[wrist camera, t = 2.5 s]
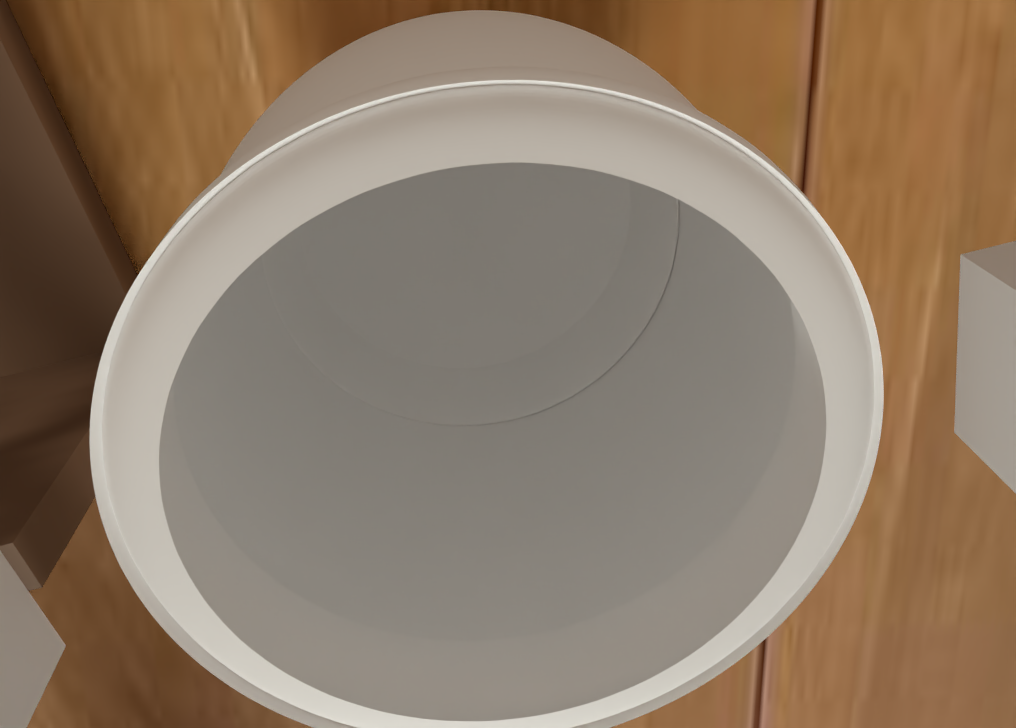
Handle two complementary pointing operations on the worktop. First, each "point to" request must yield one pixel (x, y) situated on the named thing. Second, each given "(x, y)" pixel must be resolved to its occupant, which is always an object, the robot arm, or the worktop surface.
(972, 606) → the worktop surface
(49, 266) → the holder
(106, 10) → the worktop surface
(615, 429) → the jar
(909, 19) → the worktop surface
